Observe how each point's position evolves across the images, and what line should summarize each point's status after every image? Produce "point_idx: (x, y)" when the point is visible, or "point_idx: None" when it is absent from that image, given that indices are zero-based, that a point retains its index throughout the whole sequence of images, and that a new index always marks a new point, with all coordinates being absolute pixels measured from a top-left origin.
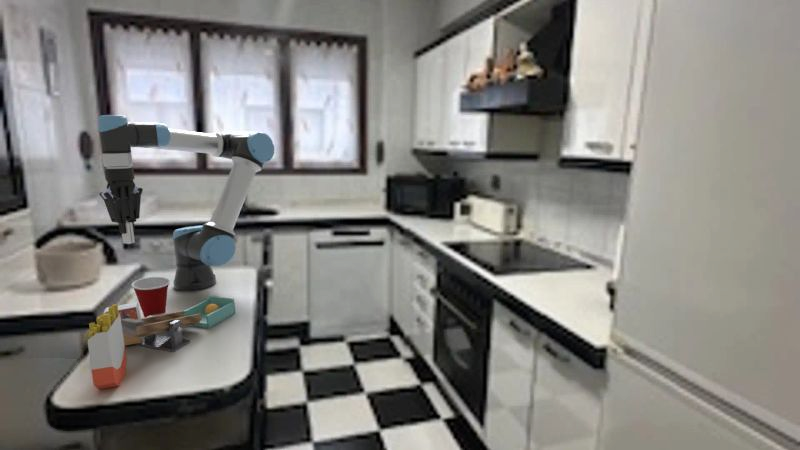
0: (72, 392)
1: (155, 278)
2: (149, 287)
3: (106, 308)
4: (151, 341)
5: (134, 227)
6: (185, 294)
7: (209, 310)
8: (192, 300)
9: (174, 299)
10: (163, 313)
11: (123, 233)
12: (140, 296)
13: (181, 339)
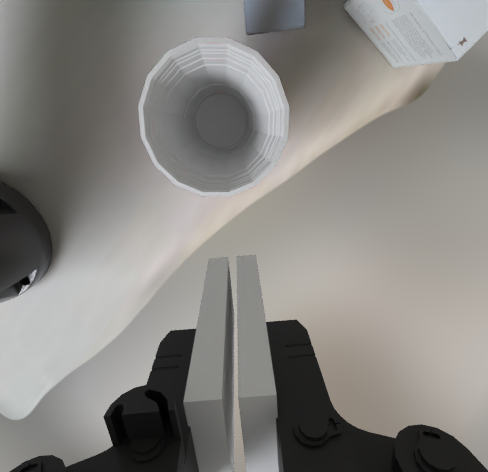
0: None
1: (164, 164)
2: (194, 169)
3: (470, 43)
4: None
5: (155, 360)
6: (58, 192)
7: None
8: (77, 123)
9: (104, 187)
10: (251, 24)
11: (298, 325)
12: (269, 119)
13: None
